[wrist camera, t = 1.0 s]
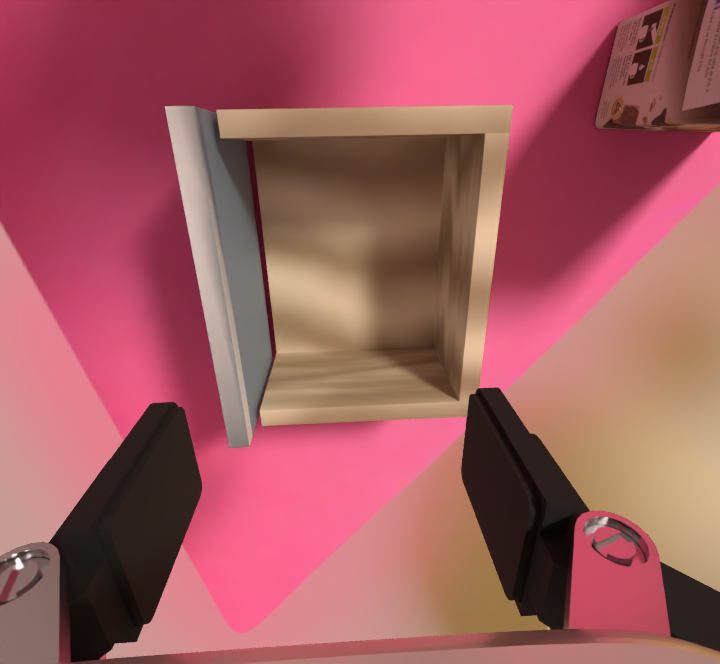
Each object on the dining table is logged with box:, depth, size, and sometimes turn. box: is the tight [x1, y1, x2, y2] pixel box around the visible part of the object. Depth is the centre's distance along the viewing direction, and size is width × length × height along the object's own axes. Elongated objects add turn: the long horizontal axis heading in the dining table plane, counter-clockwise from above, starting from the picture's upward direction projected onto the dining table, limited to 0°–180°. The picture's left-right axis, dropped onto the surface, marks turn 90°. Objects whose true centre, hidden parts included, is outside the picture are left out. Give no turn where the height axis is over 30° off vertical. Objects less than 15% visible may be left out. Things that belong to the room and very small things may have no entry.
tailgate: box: [165, 106, 273, 448], centre depth 26 cm, size 18×1×11 cm, turn 1°
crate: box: [216, 105, 513, 426], centre depth 27 cm, size 18×14×9 cm
